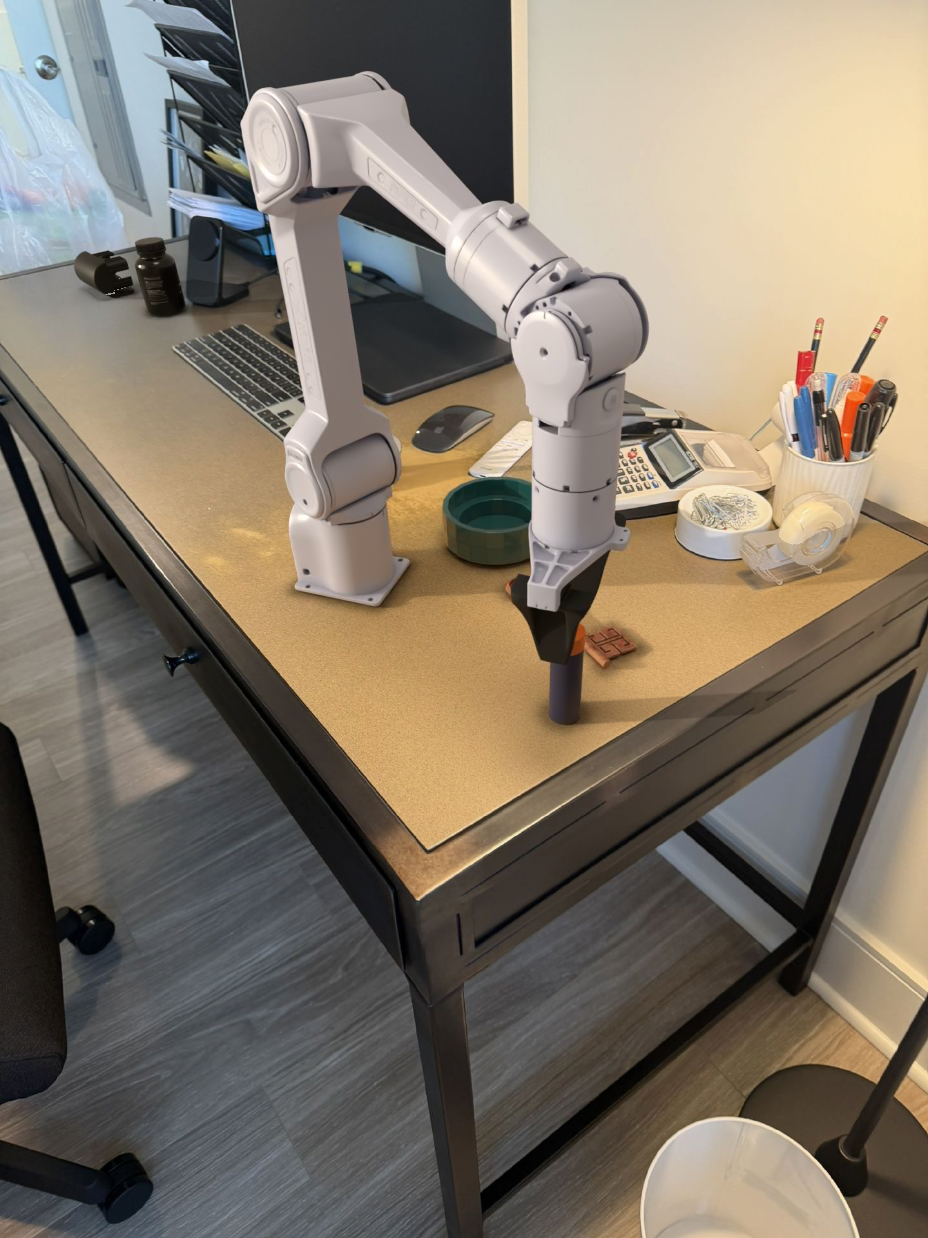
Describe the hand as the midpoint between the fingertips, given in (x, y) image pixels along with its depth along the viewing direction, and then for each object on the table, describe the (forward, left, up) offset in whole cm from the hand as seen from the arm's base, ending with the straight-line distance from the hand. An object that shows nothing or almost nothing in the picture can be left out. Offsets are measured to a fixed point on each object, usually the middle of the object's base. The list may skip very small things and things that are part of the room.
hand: (568, 628), depth 66 cm
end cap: (-113, +81, -10) cm, 139 cm away
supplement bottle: (-95, +75, -10) cm, 121 cm away
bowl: (-14, +23, -9) cm, 28 cm away
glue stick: (0, 0, -9) cm, 9 cm away
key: (-3, +12, -9) cm, 16 cm away
